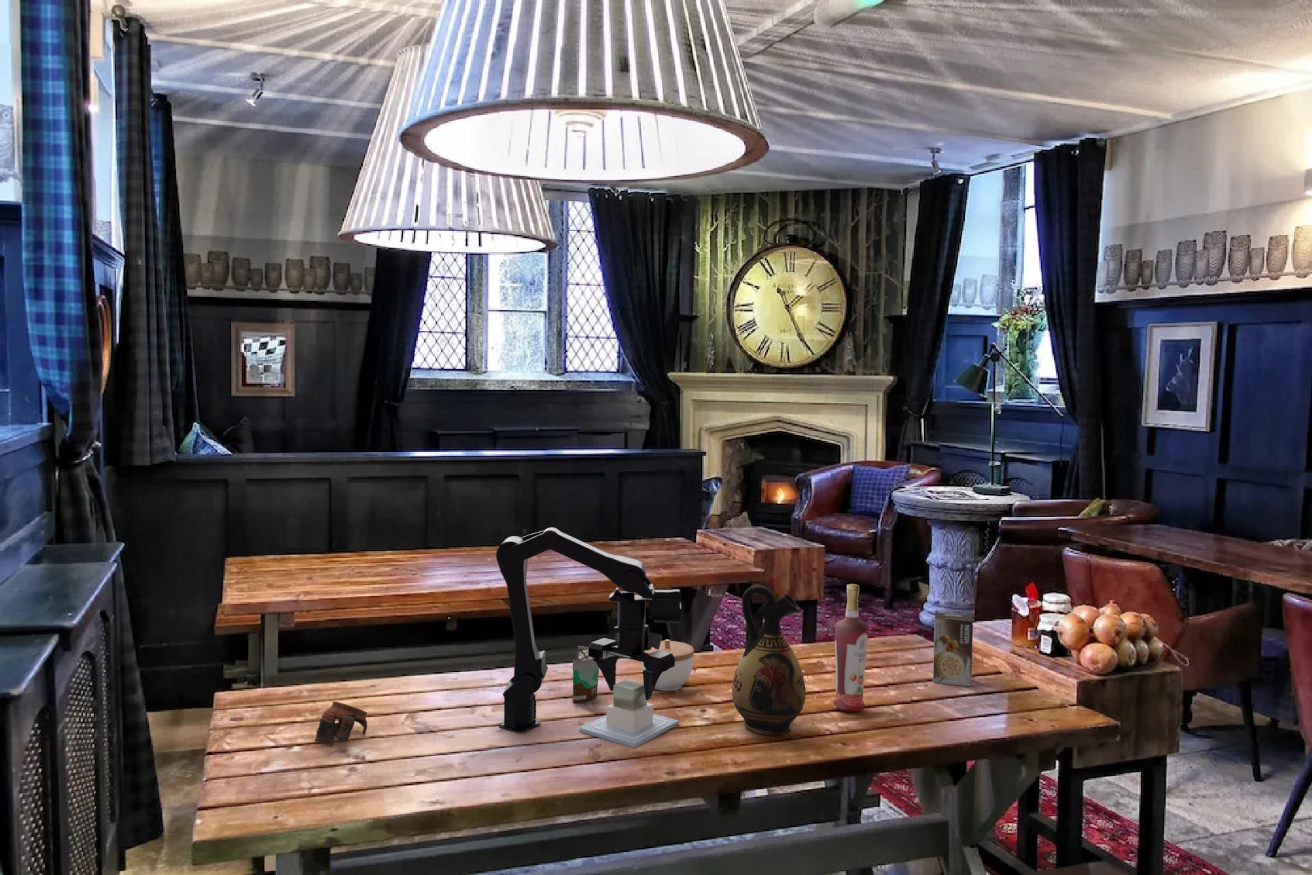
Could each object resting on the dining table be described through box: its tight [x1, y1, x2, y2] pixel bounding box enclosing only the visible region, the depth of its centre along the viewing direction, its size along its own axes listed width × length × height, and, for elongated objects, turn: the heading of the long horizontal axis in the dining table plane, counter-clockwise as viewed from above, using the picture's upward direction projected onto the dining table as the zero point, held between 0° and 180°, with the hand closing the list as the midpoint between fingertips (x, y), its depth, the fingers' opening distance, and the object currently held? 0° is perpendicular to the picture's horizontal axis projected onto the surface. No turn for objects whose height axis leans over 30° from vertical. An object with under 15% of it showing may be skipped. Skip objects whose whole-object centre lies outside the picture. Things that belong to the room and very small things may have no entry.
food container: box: [572, 645, 600, 704], centre depth 226 cm, size 12×6×10 cm, turn 179°
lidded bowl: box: [640, 639, 695, 692], centre depth 234 cm, size 13×13×11 cm
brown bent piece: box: [315, 701, 368, 747], centre depth 199 cm, size 12×10×8 cm
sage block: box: [612, 678, 648, 711], centre depth 207 cm, size 5×5×4 cm
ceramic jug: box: [731, 584, 807, 737], centre depth 209 cm, size 17×15×30 cm
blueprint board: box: [578, 702, 680, 748], centre depth 207 cm, size 16×14×5 cm
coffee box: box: [932, 612, 974, 687], centre depth 242 cm, size 9×6×16 cm
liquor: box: [833, 583, 869, 714], centre depth 220 cm, size 7×7×28 cm
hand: (630, 694), depth 207 cm, fingers open, 9 cm apart
